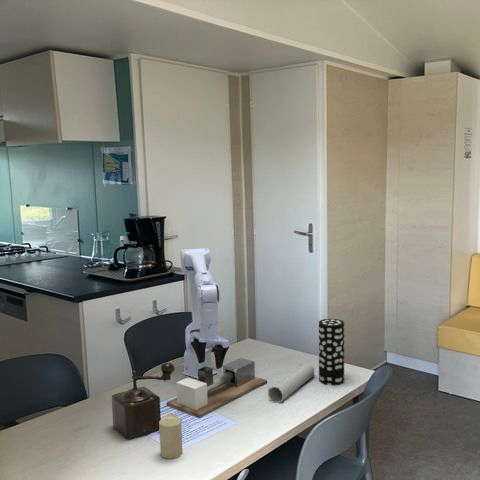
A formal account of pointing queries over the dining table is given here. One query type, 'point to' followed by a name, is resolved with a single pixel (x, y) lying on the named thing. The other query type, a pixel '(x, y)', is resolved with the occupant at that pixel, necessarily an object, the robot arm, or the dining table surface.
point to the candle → (170, 436)
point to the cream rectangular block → (192, 393)
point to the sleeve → (240, 371)
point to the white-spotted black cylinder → (331, 351)
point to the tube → (290, 383)
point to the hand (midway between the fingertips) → (210, 365)
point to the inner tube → (207, 377)
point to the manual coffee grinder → (138, 407)
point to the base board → (219, 397)
